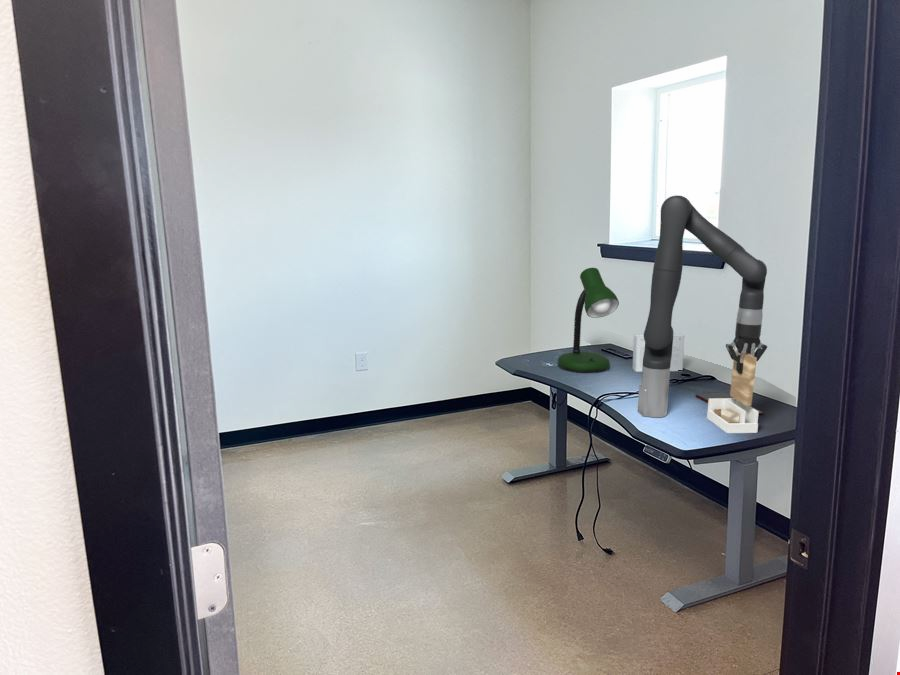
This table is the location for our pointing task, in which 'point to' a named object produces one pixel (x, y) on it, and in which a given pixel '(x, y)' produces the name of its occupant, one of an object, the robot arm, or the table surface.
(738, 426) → the rack
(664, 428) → the table surface
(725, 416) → the offcut maple
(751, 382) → the tan rectangular block
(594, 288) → the desk lamp
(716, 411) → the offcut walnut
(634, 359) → the skincare box
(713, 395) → the smartphone
